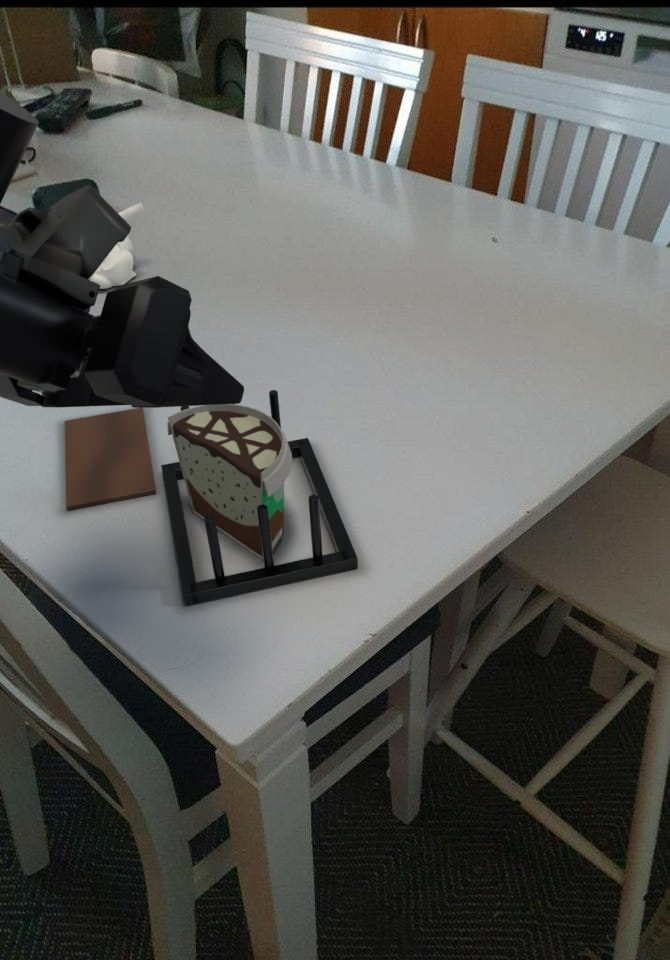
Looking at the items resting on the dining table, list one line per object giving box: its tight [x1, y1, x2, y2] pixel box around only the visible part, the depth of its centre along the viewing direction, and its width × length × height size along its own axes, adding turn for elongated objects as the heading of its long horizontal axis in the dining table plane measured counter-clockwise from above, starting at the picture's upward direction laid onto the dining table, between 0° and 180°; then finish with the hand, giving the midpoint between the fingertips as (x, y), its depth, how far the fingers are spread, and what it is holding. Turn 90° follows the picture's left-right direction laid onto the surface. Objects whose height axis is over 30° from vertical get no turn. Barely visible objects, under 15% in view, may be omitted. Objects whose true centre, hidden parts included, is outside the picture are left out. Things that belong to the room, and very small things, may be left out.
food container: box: [166, 404, 293, 562], centre depth 68 cm, size 12×6×10 cm, turn 47°
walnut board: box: [64, 408, 157, 511], centre depth 79 cm, size 8×14×1 cm, turn 15°
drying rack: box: [160, 389, 359, 607], centre depth 69 cm, size 14×17×8 cm
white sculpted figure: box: [89, 202, 144, 290], centre depth 107 cm, size 12×8×10 cm, turn 167°
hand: (200, 396), depth 52 cm, fingers open, 9 cm apart
